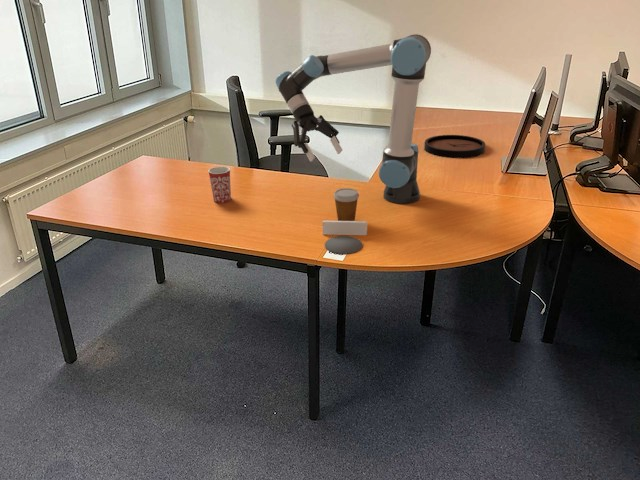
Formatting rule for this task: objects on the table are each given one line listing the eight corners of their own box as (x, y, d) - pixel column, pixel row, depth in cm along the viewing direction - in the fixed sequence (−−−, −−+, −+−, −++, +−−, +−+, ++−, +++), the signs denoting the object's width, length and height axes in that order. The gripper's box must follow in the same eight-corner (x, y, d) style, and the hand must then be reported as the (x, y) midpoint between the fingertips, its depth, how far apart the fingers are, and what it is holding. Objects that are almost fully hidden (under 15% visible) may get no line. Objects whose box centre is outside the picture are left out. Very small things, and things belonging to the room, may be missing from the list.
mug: (233, 202, 222) (230, 172, 216) (212, 205, 220) (208, 174, 214) (232, 192, 233) (229, 162, 227) (211, 194, 231) (207, 164, 225)
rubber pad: (362, 237, 189) (362, 236, 189) (361, 254, 178) (361, 253, 177) (326, 236, 190) (326, 235, 190) (323, 253, 179) (323, 252, 179)
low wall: (366, 233, 192) (367, 221, 190) (366, 235, 191) (367, 222, 188) (323, 233, 193) (322, 220, 191) (322, 234, 192) (322, 221, 190)
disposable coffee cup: (356, 227, 197) (357, 197, 191) (331, 226, 199) (331, 196, 193) (360, 217, 205) (360, 188, 200) (336, 216, 207) (335, 187, 202)
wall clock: (418, 147, 274) (432, 132, 300) (417, 155, 276) (431, 139, 301) (480, 153, 262) (489, 137, 288) (479, 161, 264) (488, 144, 290)
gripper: (321, 110, 213) (346, 154, 209) (270, 120, 199) (296, 168, 195) (330, 98, 207) (355, 143, 203) (277, 108, 193) (304, 157, 189)
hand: (326, 155), depth 199 cm, fingers open, 13 cm apart
